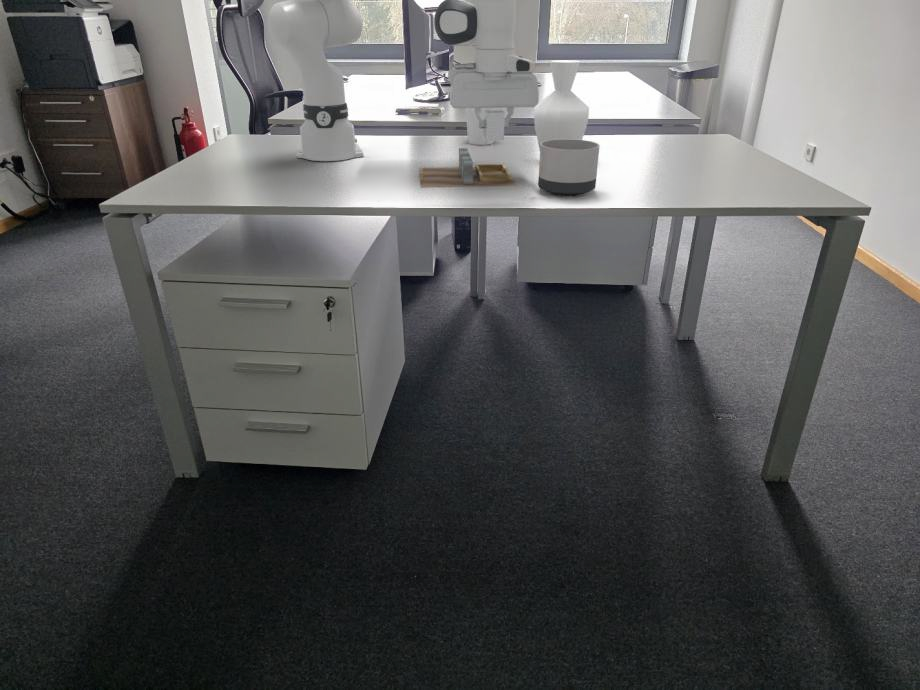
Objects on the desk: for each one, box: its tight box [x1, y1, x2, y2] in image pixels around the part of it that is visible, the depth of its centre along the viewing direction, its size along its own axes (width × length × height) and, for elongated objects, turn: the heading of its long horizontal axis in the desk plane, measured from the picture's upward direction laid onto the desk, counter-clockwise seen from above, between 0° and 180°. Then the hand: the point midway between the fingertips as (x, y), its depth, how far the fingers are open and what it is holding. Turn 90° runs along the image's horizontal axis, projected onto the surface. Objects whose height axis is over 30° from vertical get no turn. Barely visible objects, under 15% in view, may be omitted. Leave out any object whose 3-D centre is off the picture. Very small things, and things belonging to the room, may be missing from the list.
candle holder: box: [465, 108, 496, 146], centre depth 190 cm, size 10×10×12 cm
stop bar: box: [483, 108, 506, 141], centre depth 143 cm, size 4×8×6 cm, turn 4°
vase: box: [533, 59, 590, 151], centre depth 162 cm, size 14×14×25 cm
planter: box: [537, 139, 601, 198], centre depth 137 cm, size 13×13×10 cm
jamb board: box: [419, 147, 518, 188], centre depth 147 cm, size 20×22×6 cm
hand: (493, 128), depth 143 cm, fingers closed on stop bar, 4 cm apart
